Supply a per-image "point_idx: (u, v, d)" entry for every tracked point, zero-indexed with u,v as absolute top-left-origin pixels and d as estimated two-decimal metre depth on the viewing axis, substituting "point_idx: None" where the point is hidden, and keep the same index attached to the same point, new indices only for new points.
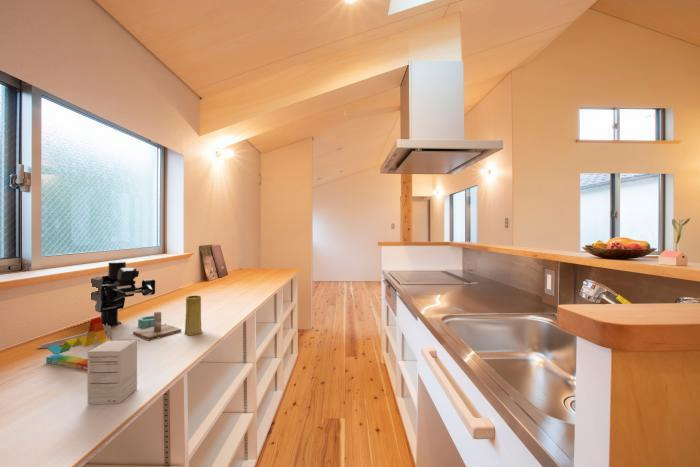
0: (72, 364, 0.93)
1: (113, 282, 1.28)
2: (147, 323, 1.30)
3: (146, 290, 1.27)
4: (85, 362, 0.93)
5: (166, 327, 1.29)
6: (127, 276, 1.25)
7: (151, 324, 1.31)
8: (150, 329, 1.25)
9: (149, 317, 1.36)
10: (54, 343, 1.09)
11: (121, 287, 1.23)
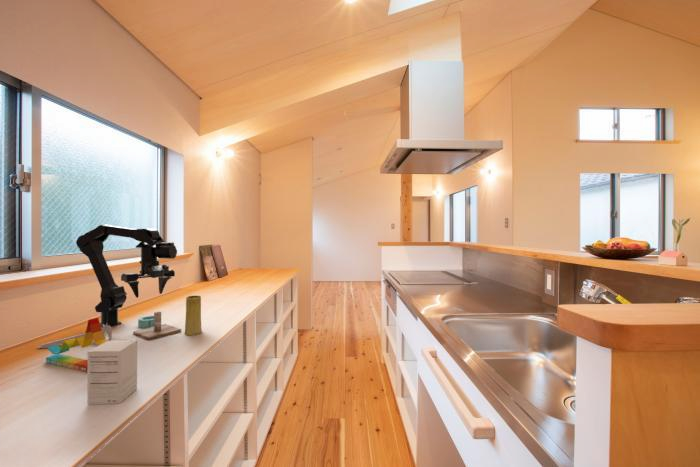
0: (70, 365, 0.93)
1: (151, 254, 1.32)
2: (147, 323, 1.30)
3: (160, 282, 1.38)
4: (83, 363, 0.92)
5: (166, 327, 1.29)
6: None
7: (151, 324, 1.31)
8: (150, 329, 1.25)
9: (149, 317, 1.36)
10: (54, 343, 1.09)
11: None
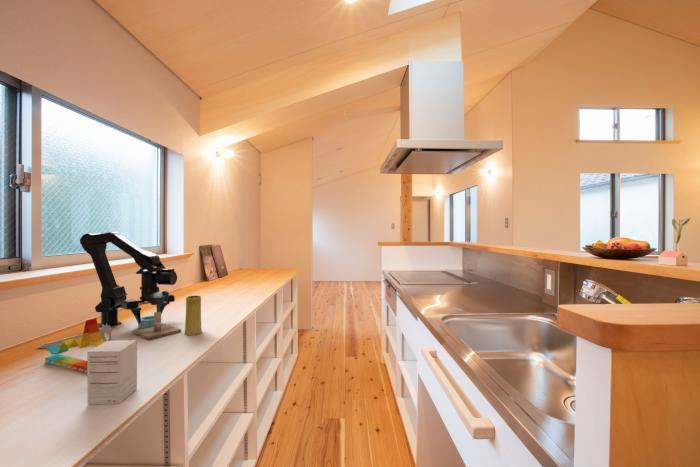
0: (68, 365, 0.92)
1: (152, 281, 1.32)
2: (147, 323, 1.30)
3: (158, 307, 1.38)
4: (81, 364, 0.92)
5: (166, 327, 1.29)
6: None
7: (151, 324, 1.31)
8: (150, 329, 1.25)
9: (149, 317, 1.36)
10: (54, 343, 1.09)
11: None
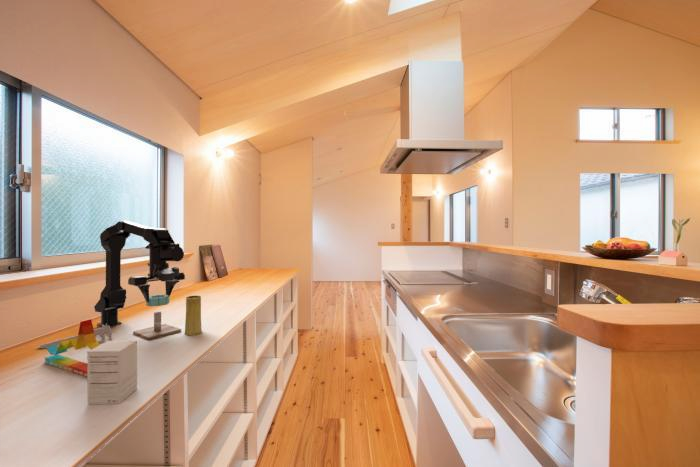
0: (65, 366, 0.91)
1: (158, 256, 1.22)
2: (156, 301, 1.21)
3: (167, 286, 1.28)
4: (76, 365, 0.91)
5: (166, 327, 1.29)
6: None
7: (160, 303, 1.22)
8: (150, 329, 1.25)
9: (158, 296, 1.27)
10: (54, 343, 1.08)
11: None
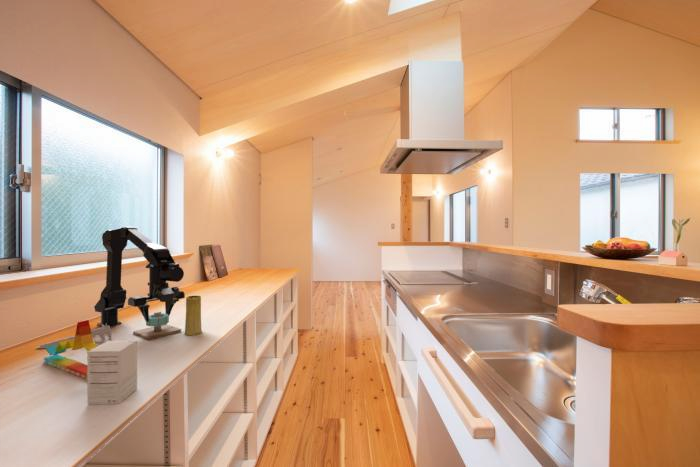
0: (63, 367, 0.91)
1: (158, 276, 1.22)
2: (156, 321, 1.21)
3: (167, 305, 1.28)
4: (74, 366, 0.90)
5: (166, 327, 1.29)
6: None
7: (160, 323, 1.22)
8: (150, 329, 1.25)
9: None
10: (54, 343, 1.08)
11: None
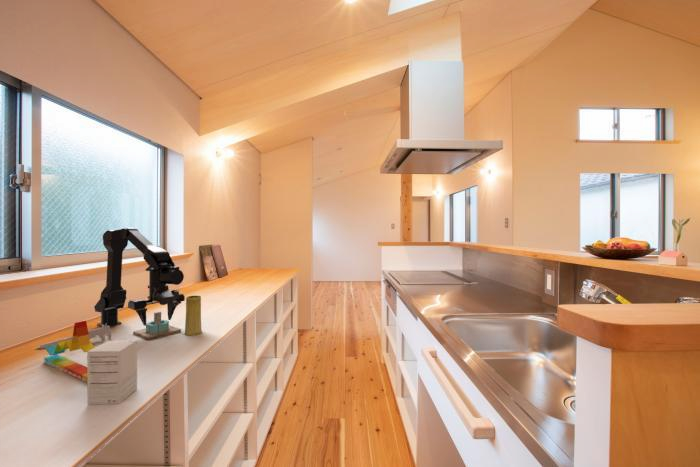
0: (61, 367, 0.91)
1: (158, 279, 1.22)
2: (156, 328, 1.21)
3: (169, 307, 1.29)
4: (72, 367, 0.90)
5: None
6: None
7: (160, 329, 1.22)
8: None
9: None
10: (54, 343, 1.08)
11: None
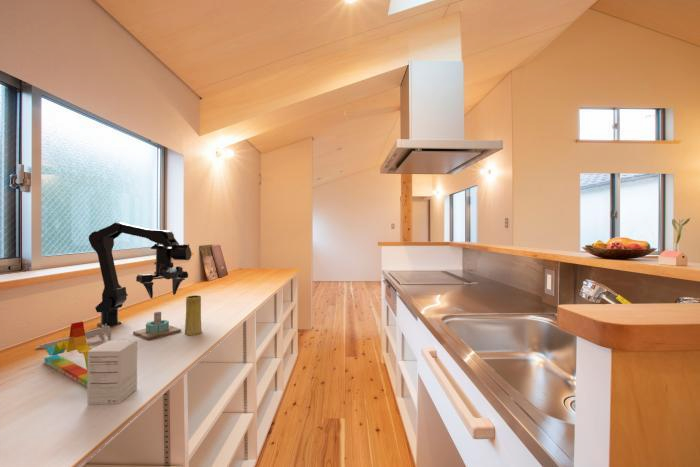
0: (59, 368, 0.90)
1: (167, 256, 1.34)
2: (156, 328, 1.21)
3: (174, 283, 1.40)
4: (69, 367, 0.89)
5: None
6: None
7: (160, 329, 1.22)
8: None
9: None
10: (53, 343, 1.08)
11: None
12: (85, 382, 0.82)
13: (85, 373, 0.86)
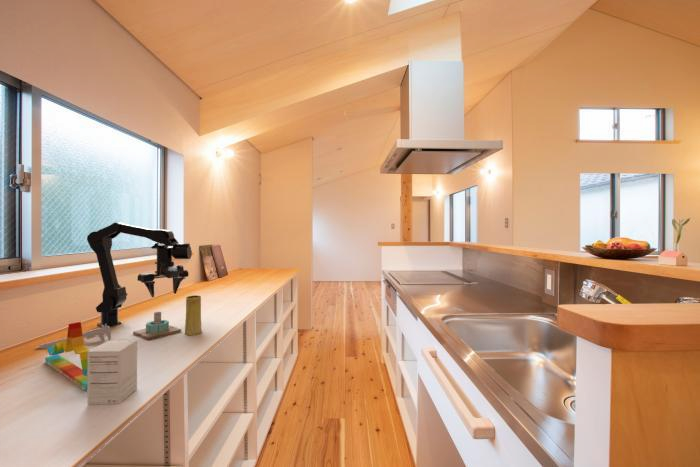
0: (57, 368, 0.90)
1: (168, 255, 1.35)
2: (156, 328, 1.21)
3: (174, 282, 1.41)
4: (67, 368, 0.89)
5: None
6: None
7: (160, 329, 1.22)
8: None
9: None
10: (53, 343, 1.08)
11: None
12: (80, 383, 0.81)
13: (82, 374, 0.85)
